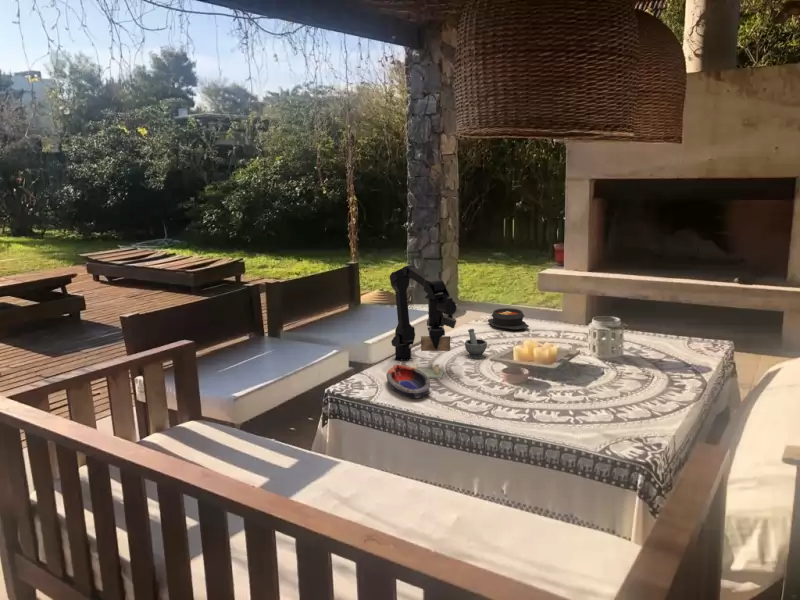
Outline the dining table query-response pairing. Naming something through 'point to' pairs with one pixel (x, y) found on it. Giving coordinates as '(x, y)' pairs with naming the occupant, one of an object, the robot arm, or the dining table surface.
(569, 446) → the dining table surface
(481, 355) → the mortar and pestle
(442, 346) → the brown rectangular block
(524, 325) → the casserole
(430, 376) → the strip
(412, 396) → the dish
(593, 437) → the dining table surface
